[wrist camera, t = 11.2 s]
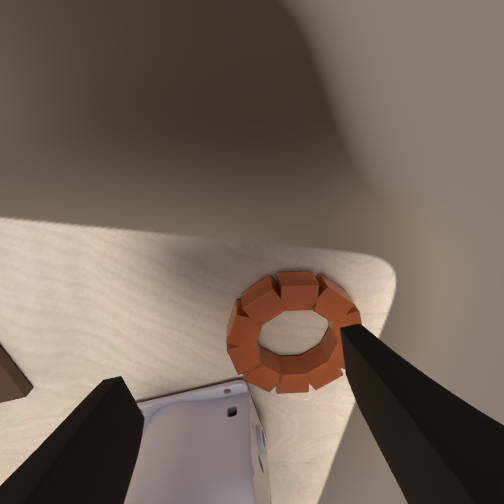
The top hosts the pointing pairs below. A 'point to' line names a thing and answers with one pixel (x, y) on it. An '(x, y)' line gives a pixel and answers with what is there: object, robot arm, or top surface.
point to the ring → (274, 303)
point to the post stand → (11, 380)
